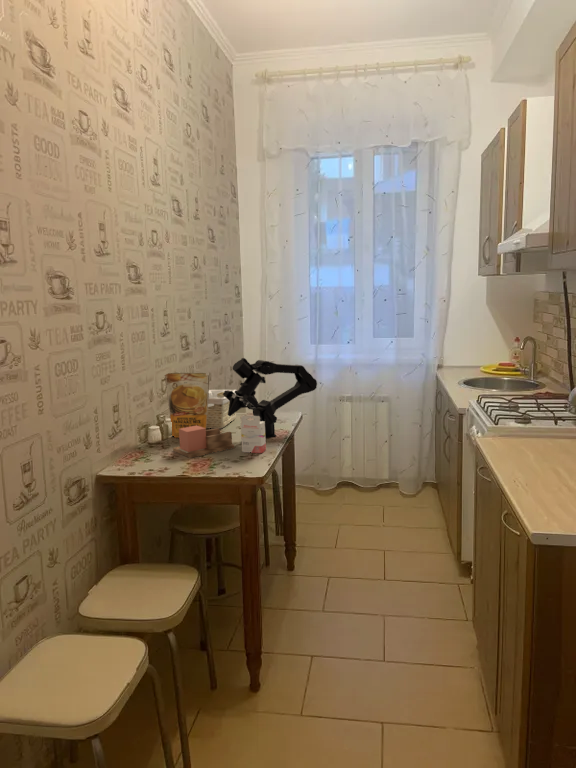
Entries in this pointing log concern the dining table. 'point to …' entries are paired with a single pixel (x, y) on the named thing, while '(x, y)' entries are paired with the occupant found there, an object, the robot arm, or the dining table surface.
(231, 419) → the storage basket
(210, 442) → the chute
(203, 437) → the block
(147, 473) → the dining table surface
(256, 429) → the ink cartridge box
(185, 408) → the pancake mix bag
